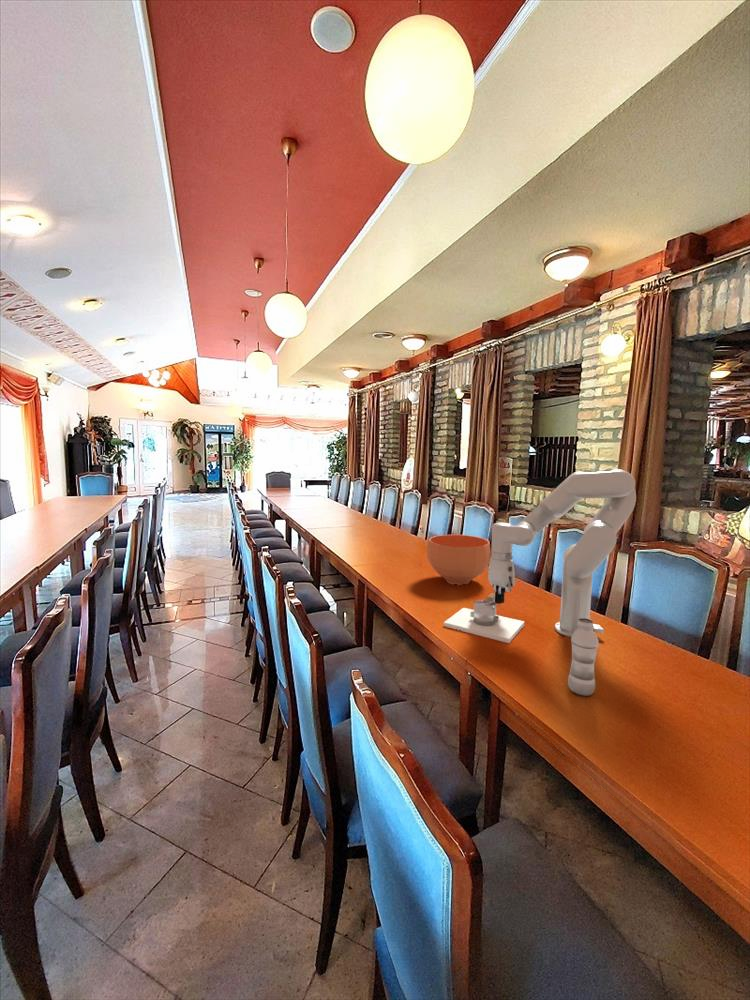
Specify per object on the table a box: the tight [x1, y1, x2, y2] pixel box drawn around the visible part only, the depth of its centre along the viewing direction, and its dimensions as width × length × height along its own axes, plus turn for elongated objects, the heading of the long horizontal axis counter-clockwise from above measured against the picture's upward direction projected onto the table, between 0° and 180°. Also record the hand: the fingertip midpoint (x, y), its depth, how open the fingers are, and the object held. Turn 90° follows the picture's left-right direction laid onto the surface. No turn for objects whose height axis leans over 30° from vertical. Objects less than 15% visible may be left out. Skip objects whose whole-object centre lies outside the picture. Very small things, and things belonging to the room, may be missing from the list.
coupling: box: [470, 592, 500, 626], centre depth 162 cm, size 17×10×7 cm, turn 151°
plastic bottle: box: [567, 618, 599, 696], centre depth 114 cm, size 6×7×20 cm
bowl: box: [426, 534, 491, 586], centre depth 210 cm, size 30×30×20 cm
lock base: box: [443, 607, 525, 644], centre depth 158 cm, size 24×18×2 cm
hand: (499, 602), depth 164 cm, fingers closed
